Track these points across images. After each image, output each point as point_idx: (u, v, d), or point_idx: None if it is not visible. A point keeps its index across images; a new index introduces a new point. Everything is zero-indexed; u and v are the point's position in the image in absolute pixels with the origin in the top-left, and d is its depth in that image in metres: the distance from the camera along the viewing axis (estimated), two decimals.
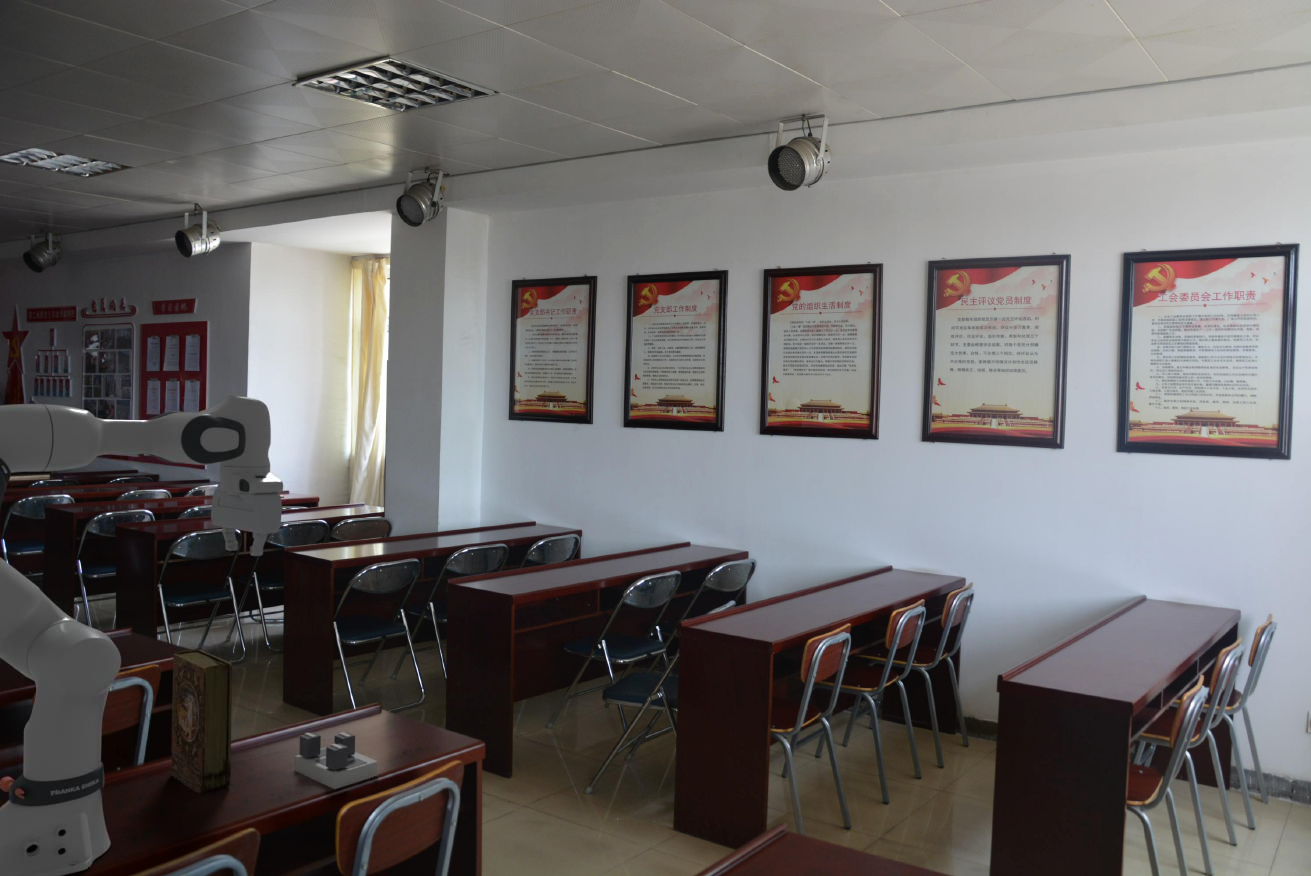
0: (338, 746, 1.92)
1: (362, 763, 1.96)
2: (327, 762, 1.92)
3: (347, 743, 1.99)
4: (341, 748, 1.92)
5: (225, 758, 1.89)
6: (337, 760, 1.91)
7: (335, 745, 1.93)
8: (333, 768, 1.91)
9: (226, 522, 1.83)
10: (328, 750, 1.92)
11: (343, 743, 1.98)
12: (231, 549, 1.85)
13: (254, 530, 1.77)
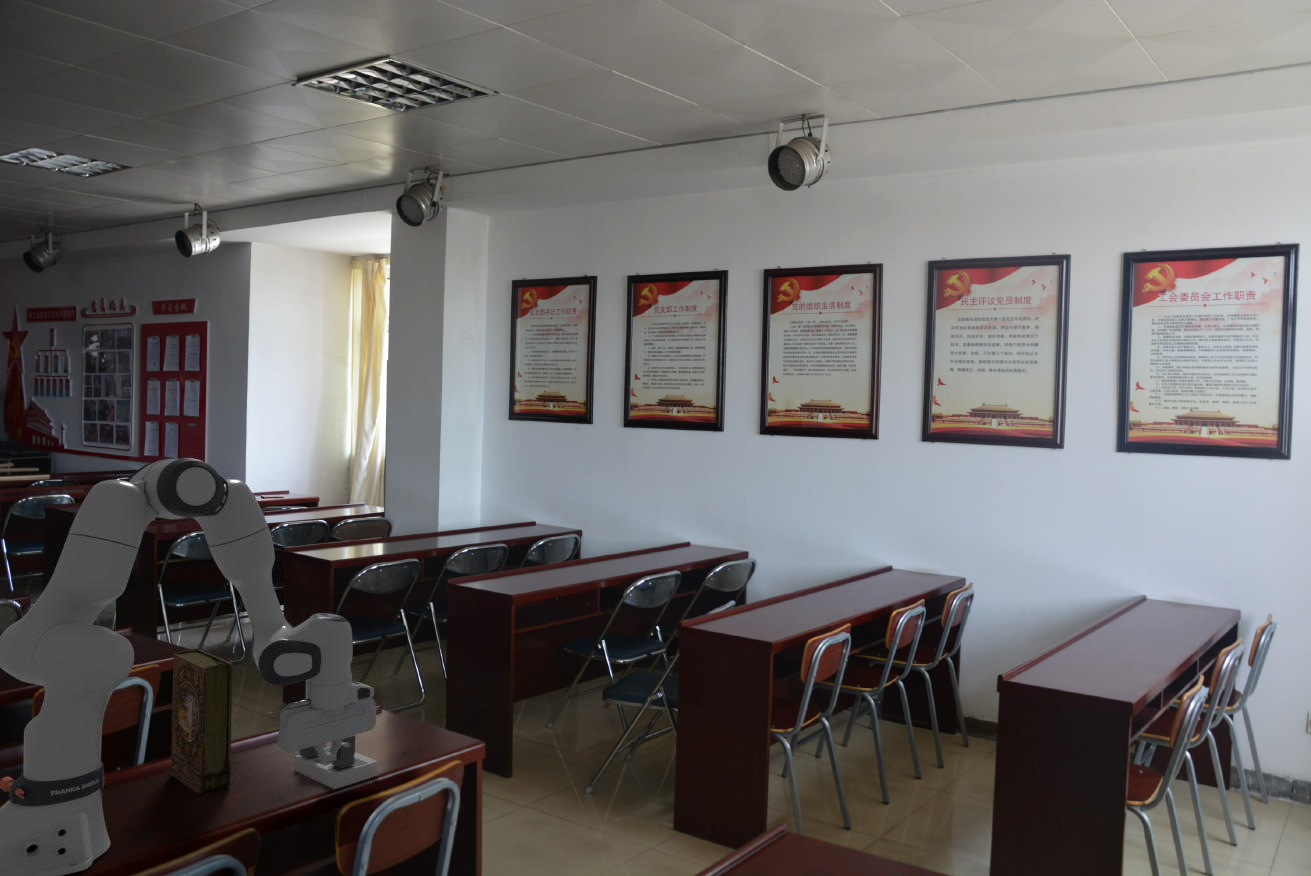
0: (344, 744, 1.93)
1: (362, 763, 1.96)
2: None
3: None
4: (347, 746, 1.93)
5: (225, 758, 1.89)
6: (343, 758, 1.92)
7: None
8: (339, 766, 1.92)
9: (317, 740, 1.87)
10: None
11: None
12: None
13: (364, 730, 1.96)
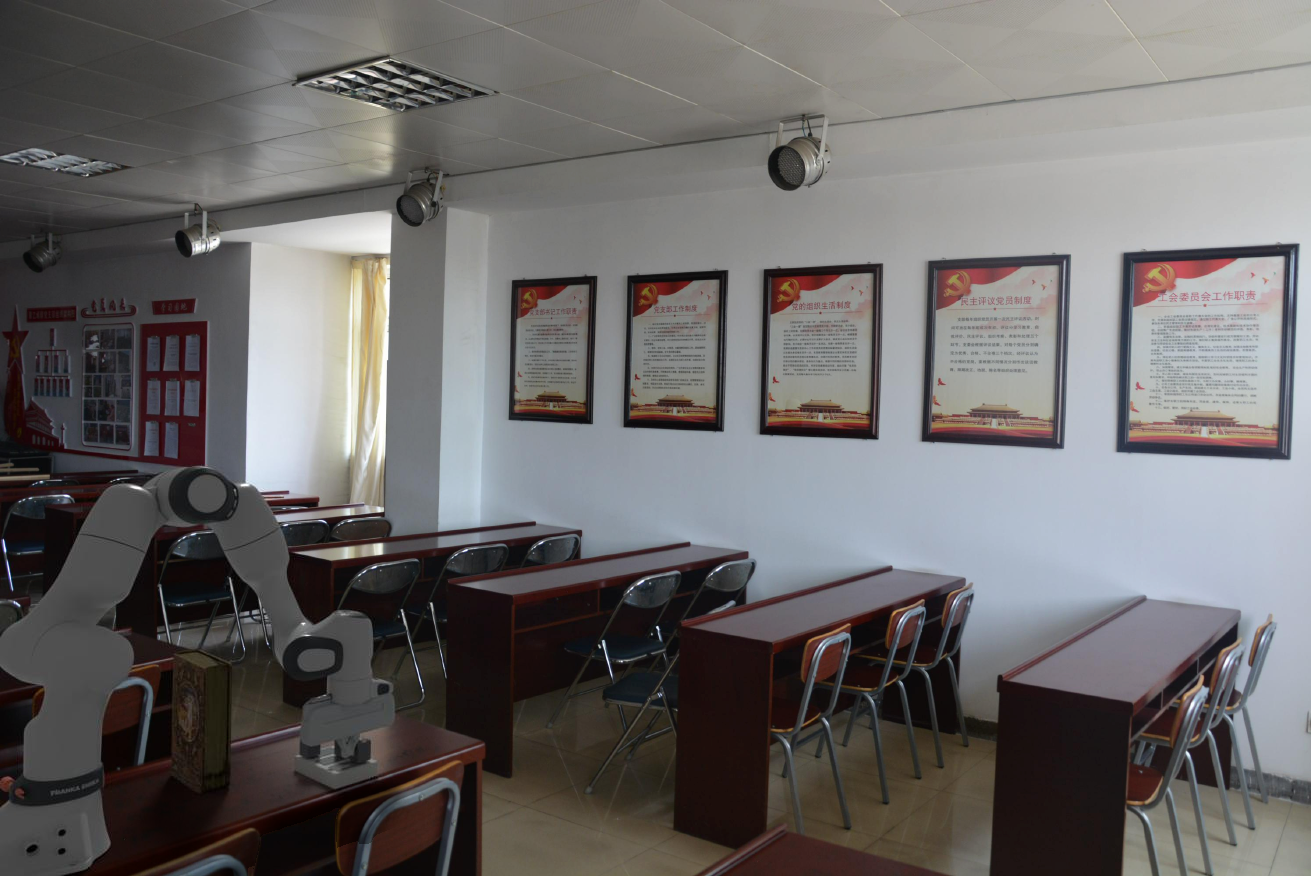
0: (361, 739, 1.97)
1: (362, 763, 1.96)
2: None
3: (347, 743, 1.99)
4: (364, 741, 1.96)
5: (225, 758, 1.89)
6: (361, 753, 1.95)
7: None
8: (357, 761, 1.95)
9: (338, 734, 1.91)
10: None
11: None
12: None
13: (383, 725, 1.99)
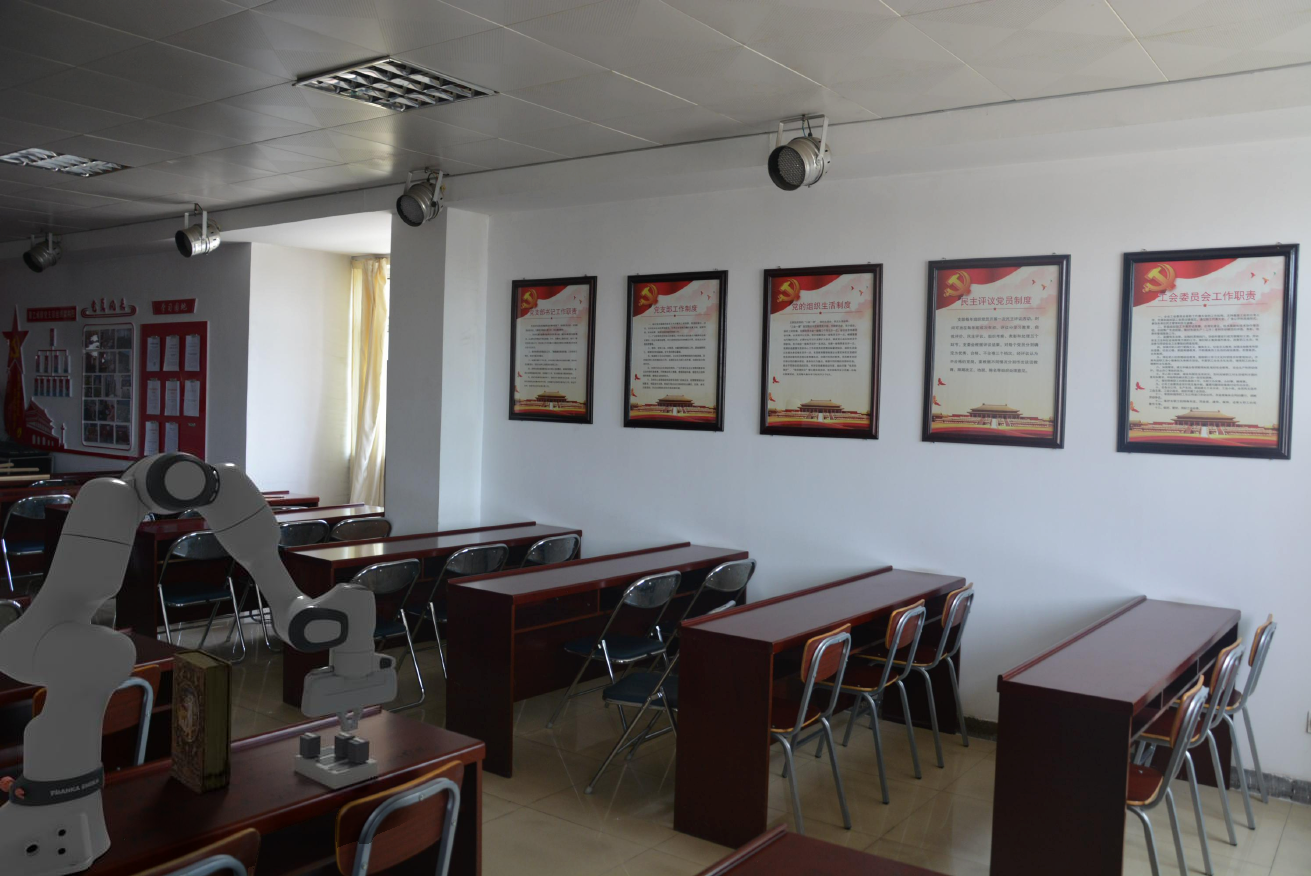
0: (360, 740, 1.96)
1: (362, 763, 1.96)
2: (349, 756, 1.96)
3: (347, 743, 1.99)
4: (363, 742, 1.96)
5: (225, 758, 1.89)
6: (359, 753, 1.95)
7: (357, 739, 1.97)
8: (355, 761, 1.95)
9: (340, 707, 1.91)
10: (350, 744, 1.96)
11: (343, 743, 1.98)
12: None
13: (384, 700, 1.99)
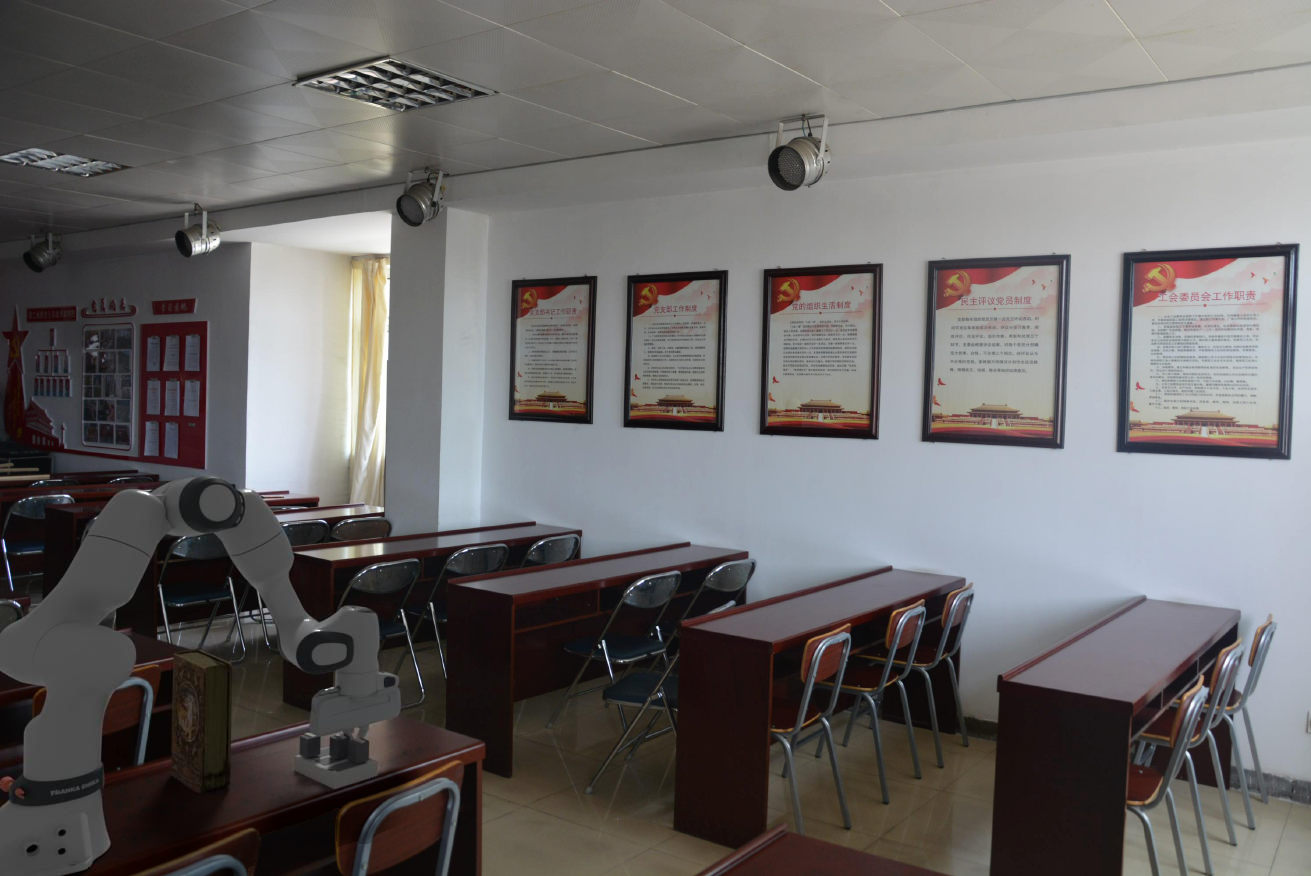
0: (360, 740, 1.96)
1: (362, 763, 1.96)
2: (349, 756, 1.96)
3: (343, 744, 1.98)
4: (363, 742, 1.96)
5: (225, 758, 1.89)
6: (359, 753, 1.95)
7: (357, 739, 1.97)
8: (355, 761, 1.95)
9: (346, 725, 1.98)
10: (350, 744, 1.96)
11: (338, 744, 1.97)
12: None
13: (389, 717, 2.06)
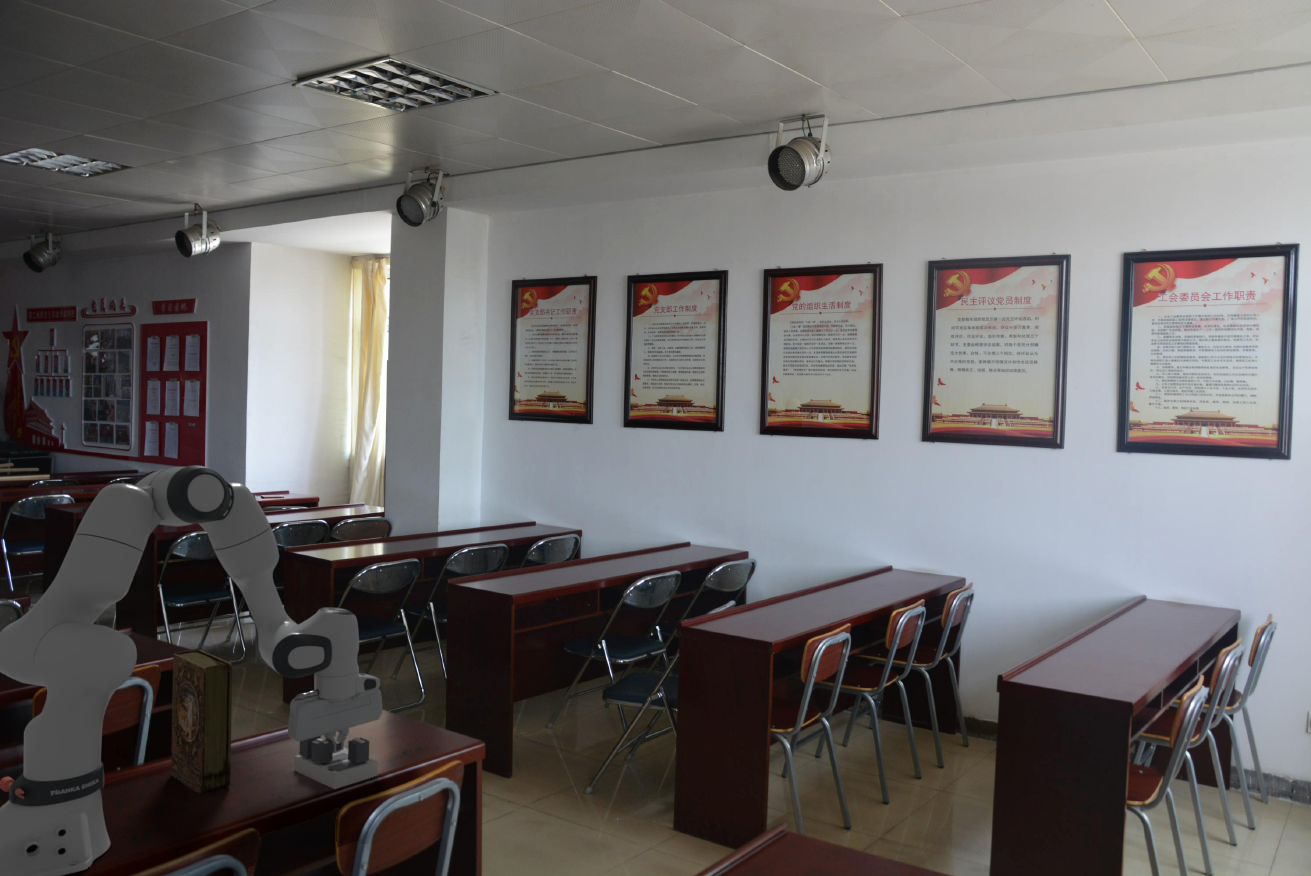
0: (360, 740, 1.96)
1: (362, 763, 1.96)
2: (349, 756, 1.96)
3: (325, 749, 1.95)
4: (363, 742, 1.96)
5: (225, 758, 1.89)
6: (359, 753, 1.95)
7: (357, 739, 1.97)
8: (355, 761, 1.95)
9: (326, 729, 1.94)
10: (350, 744, 1.96)
11: (320, 749, 1.94)
12: None
13: (370, 720, 2.02)
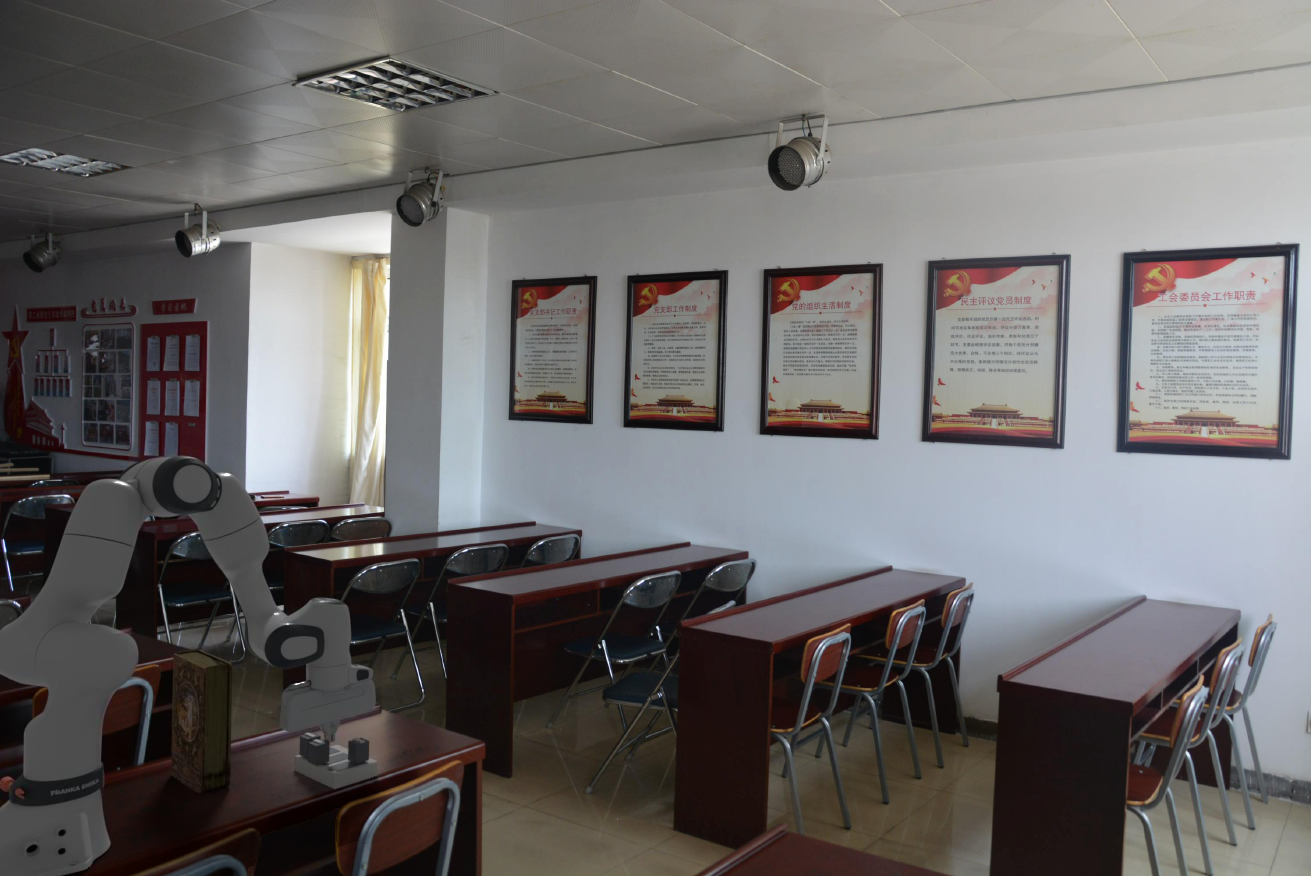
0: (360, 740, 1.96)
1: (362, 763, 1.96)
2: (349, 756, 1.96)
3: (321, 750, 1.94)
4: (363, 742, 1.96)
5: (225, 758, 1.89)
6: (359, 753, 1.95)
7: (357, 739, 1.97)
8: (355, 761, 1.95)
9: (319, 720, 1.93)
10: (350, 744, 1.96)
11: (317, 750, 1.93)
12: None
13: (364, 711, 2.01)
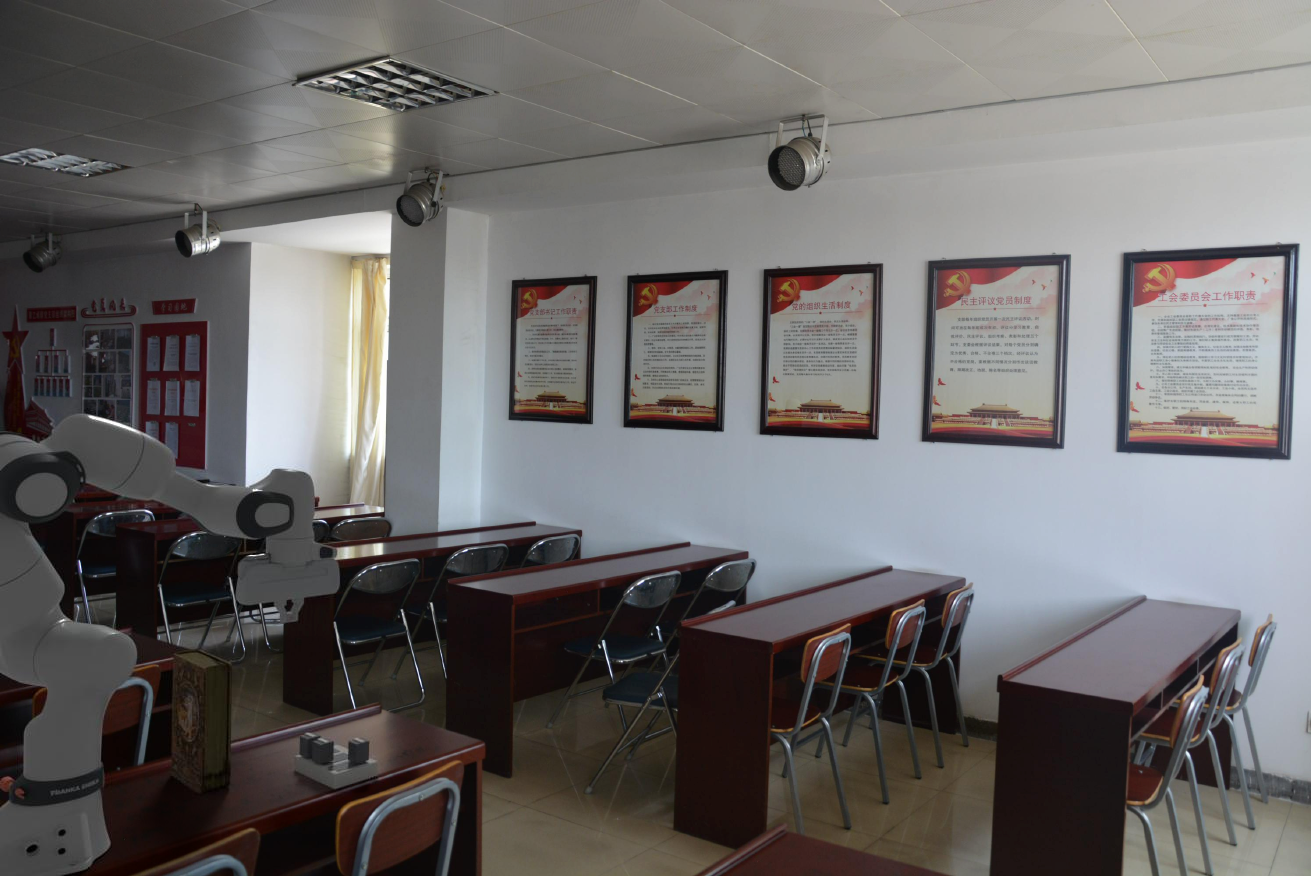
0: (360, 740, 1.96)
1: (362, 763, 1.96)
2: (349, 756, 1.96)
3: (326, 749, 1.95)
4: (363, 742, 1.96)
5: (225, 758, 1.89)
6: (359, 753, 1.95)
7: (357, 739, 1.97)
8: (355, 761, 1.95)
9: (277, 596, 1.82)
10: (350, 744, 1.96)
11: (321, 749, 1.94)
12: None
13: (326, 592, 1.90)
